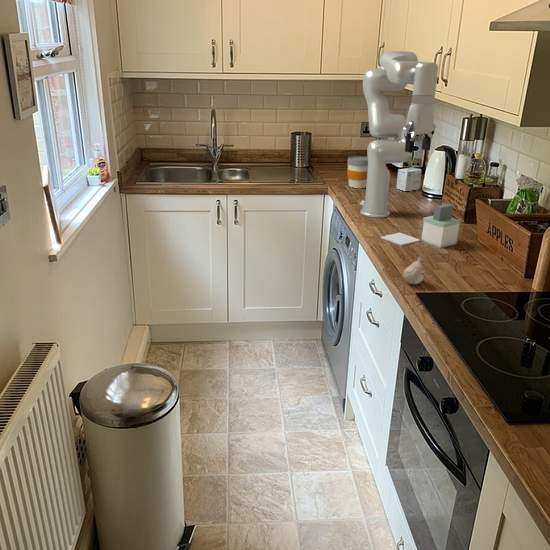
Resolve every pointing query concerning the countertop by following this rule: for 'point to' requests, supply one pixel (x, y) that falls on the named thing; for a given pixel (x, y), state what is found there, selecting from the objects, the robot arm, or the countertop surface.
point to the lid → (442, 216)
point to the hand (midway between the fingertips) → (417, 151)
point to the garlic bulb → (414, 272)
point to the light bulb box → (408, 179)
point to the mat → (400, 239)
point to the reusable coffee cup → (357, 171)
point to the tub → (439, 235)
